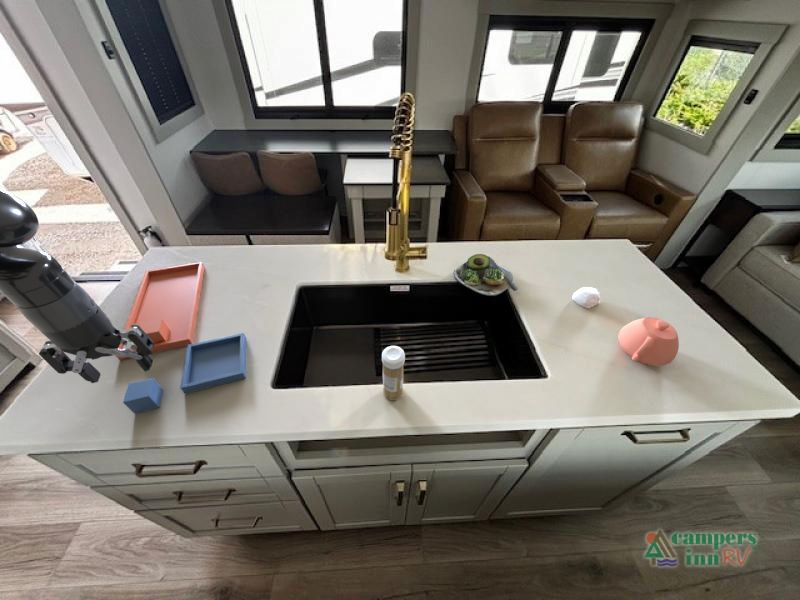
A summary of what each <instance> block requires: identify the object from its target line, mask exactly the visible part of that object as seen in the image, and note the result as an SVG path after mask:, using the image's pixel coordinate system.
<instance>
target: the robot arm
mask: <svg viewBox="0 0 800 600" xmlns="http://www.w3.org/2000/svg"><path fill="white" fill-rule="evenodd" d="M39 229H40V222H39V218H38V216H37V214H36V213H35V211H34V209H33V208H32V207H31V206H30V205H29V204H27V203H26V202H25V201H24V200H22V199H21V198H19V197H18V196H16V195H15V194H12V193H10V192H8V191H6V190H3V189H0V293H1V294H2V295H3V296H4V297H5V298H6V299H7V300H8V301H10V302H11V303H12V304H13V305H14V306H15V307H16V308H17V309H18V311H20V313H21V314H22V315H23V317H24V318H25V319H26V320H27V321H28V322H29V323H30V324H32V325H33V326H34V327H35V328H36V329H37V330H38V331H39V332H40V333H41V334H42V335H44V336H45V337H46V338H47V339H48V340H46V341H45V342H44V343H43V345H42V347H41V348H40V350H39V352H38V355H39V356H40V357H41V358H42V359H43V361H45V362H46V363H47V364H48V365H49V366H50V367H51V368H52V369H53V370H54V371H55V372H56V373H58V374H60V375H65V374H66V373H67V372H72V373H74V374H78V375H79V376H80V377H81V378H82V379H84V381H86V382H89V383H91V384H95V383H99V380H100V378H101V372H100V371H99V370H98V369H97V368H96V367H95V366H94V365H93V364H92V363H91V362H90V361H87V359H89V360H90V359H91V360H92V361H93V360H98V359H101V358H105V357H112V356H115V357H116V356H119V357H122V358H124V357H130V358H129V359H134V360H135V362H136V363H137V364H138V365H139V367H140V368H141V369H142V370H143V371H144V372H148V371H149V372H150V371H151V368H152V367H153V364H154V359H153V358H152V357H151V355H152V354H153V353H152V350H153V346H154V342H153V341H152V340H151V339H150V338H149V336H148V335H147V334H146V333H145V332H144V331H143V330H142V329H141V327H140V326H139V325H136V324H133V325H131V328H130V329H126V330H124V329H121V330H120V329H118V328H116V327H114V325H113V323H112V321H111V319H110V318H109V317H108V316H107V314H106V313H105V312H104V311H103V310H102V309H101V308H100V306H99V305H98V304H97V302H96V301H95V300H94V299H93V297H91V296H90V294H89V293H88V292H87V291H86V290H85V289H84V288H83V287H82V286H81V285H79V284H78V283H77V282H76V281H75V280H74V279H73V277H72V276H71V275H70V274H69V273H68V272H67V271H66V269H65V268H64V267H63V266H62V265H61V263H60V262H59V261H58V260H57V259H56V258H55V257H53V256H52V255H51V254H50V253H48V252H45V251H43V250H38V249H33V248H29V247H24V246H21V245H24V244H26V243H28V242H30V241H31V240H33V238H35V236H36V235H37V233H38V231H39ZM120 344H122V345H123V349H122V350H120V349H118V348H119V345H120ZM130 349H133V350H136V352H133V351H131V350H130ZM67 354H69V355H74V356H75V358H74V360H72V359H71V358H70V357H69V356H68V355H67Z"/></svg>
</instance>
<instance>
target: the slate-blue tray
mask: <svg viewBox="0 0 800 600" xmlns="http://www.w3.org/2000/svg"><path fill="white" fill-rule="evenodd" d="M186 347H187V348H186V353H185V359H184V366H183V370H182V376H181V382H180V390H181V391H182V393H183V394H188V393H192V392H197V391H201V390H205V389H209V388H213V387H217V386H221V385H225V384H228V383H232V382H236V381H237V382H238V381H240V380H241V381H242V380H245V379H247V337H246V335H245V333H244V332H241V333H237V334H232V335H228V336H222V337H218V338H214V339H209V340H204V341H199V342H196V343H195V342H194V343H193V344H190V345H188V346H186Z"/></svg>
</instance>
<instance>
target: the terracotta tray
mask: <svg viewBox="0 0 800 600" xmlns="http://www.w3.org/2000/svg"><path fill="white" fill-rule="evenodd" d="M205 269H206V268H205V265H204V263H203V261H199V262H193V263H186V264H180V265H174V266H173V265H172V266H167V267H162V268H155V269H148V270H145V272H144V274H143V277H142V279H141V282H140V285H139V288H138V290H137V293H136V296H135V298H134V301H133V304H132V307H131V309H130V312H129V314H128V318H127V320H126V323H125V324H124V325H125V326H124V329H123V330H126V329H130V328H131V325H133V324H136V325H139V326H140V325H141V322H146V321H152V320H157V319H163V320H164V322H165V323H166V325H167V326H168V328H169V329H170V334H169V339H168V341H167V342H162V343H157V344H154V346H153V350H152V354H155V353H159V352H164V351H169V350H173V349H178V348H182V347H188V345H190V344H194V337H195V330H196V325H197V318H198V312H199V307H200V306H199V305H200V301H201V294H202V293H201V292H202V288H203V280H204V275H205ZM118 349H120V350H122V349H123V345H122V344H120V345H119V348H118ZM130 350H131V351H133V352H136V350H133V349H130ZM115 357H116V358H117V359H118V360H119V361H124V360H127V359H131V358H130V357H124V358H122V357H119V356H115Z"/></svg>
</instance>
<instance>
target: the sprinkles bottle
mask: <svg viewBox="0 0 800 600" xmlns="http://www.w3.org/2000/svg"><path fill="white" fill-rule="evenodd" d="M381 362H382V386H383V388H382V393H383V396H384V397H385V398H386V399H387V400H391V401H396V400H398V399H400V398H402V395H403V393H404V367H405V366H404V364H405V362H406V354H405V351H404V349H402V348H401V346H398V345H390V346H387V347H385V348H384V349H383V350H382V352H381Z"/></svg>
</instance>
